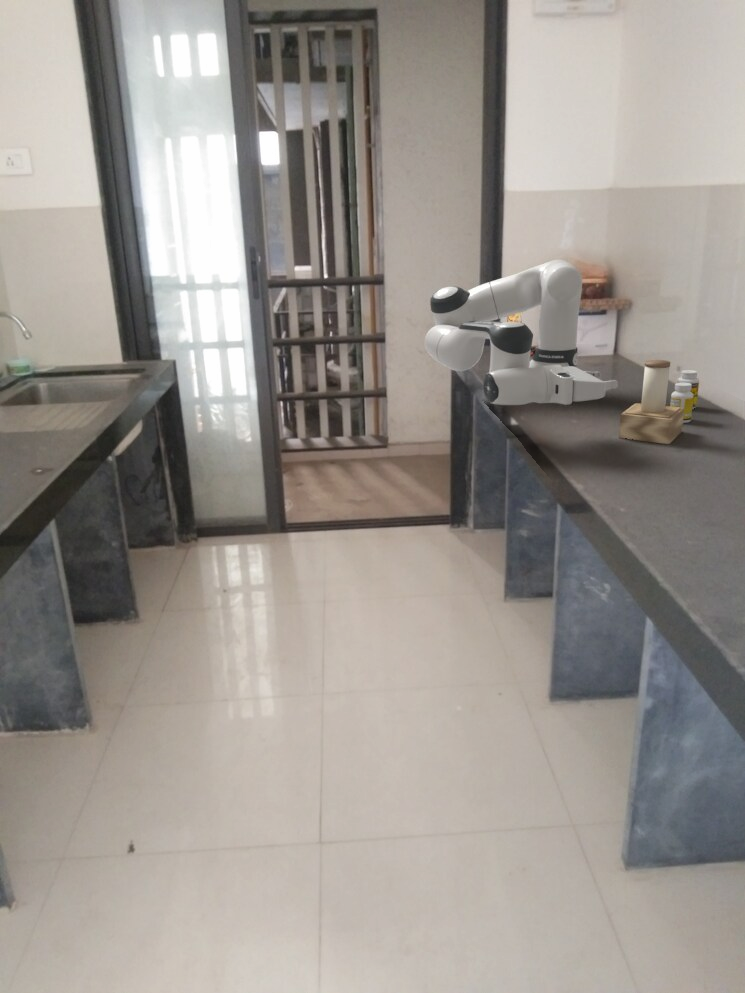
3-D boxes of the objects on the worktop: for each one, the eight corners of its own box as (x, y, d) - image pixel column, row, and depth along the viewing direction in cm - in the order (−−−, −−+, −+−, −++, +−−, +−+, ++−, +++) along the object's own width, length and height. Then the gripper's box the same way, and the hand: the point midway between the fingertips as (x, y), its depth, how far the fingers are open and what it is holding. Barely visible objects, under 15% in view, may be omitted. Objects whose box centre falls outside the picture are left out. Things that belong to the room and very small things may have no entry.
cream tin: (637, 411, 189) (641, 363, 185) (644, 405, 194) (648, 359, 190) (661, 414, 186) (666, 365, 182) (668, 408, 191) (673, 361, 186)
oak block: (618, 437, 191) (620, 412, 189) (633, 425, 200) (635, 402, 198) (668, 444, 184) (671, 418, 182) (681, 431, 194) (684, 407, 191)
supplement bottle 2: (690, 418, 204) (694, 382, 201) (691, 423, 200) (695, 386, 196) (668, 417, 206) (672, 381, 203) (668, 422, 201) (672, 385, 198)
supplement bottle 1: (687, 411, 211) (691, 374, 207) (670, 407, 215) (674, 371, 212) (700, 408, 214) (704, 371, 210) (683, 404, 218) (686, 368, 215)
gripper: (537, 387, 195) (590, 383, 196) (567, 406, 176) (625, 402, 177) (538, 362, 193) (591, 358, 194) (569, 379, 174) (627, 375, 175)
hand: (608, 379), depth 186 cm, fingers open, 8 cm apart
